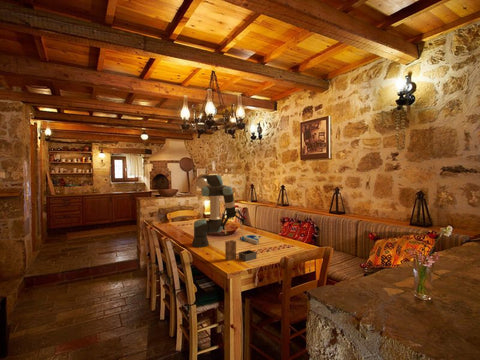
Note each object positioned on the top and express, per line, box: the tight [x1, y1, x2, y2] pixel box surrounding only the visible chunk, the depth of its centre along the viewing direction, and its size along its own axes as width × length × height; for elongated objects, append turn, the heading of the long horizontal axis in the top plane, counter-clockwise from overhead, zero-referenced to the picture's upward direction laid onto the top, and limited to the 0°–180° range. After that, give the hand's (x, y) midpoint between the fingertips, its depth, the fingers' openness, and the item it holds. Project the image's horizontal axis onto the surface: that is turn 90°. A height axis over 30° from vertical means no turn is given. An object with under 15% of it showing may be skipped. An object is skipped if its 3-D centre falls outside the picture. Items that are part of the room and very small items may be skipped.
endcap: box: [238, 249, 258, 262], centre depth 204 cm, size 11×8×5 cm
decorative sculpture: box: [237, 234, 263, 245], centre depth 260 cm, size 27×4×30 cm
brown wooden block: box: [224, 239, 237, 262], centre depth 203 cm, size 7×4×14 cm, turn 128°
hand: (233, 231), depth 208 cm, fingers open, 13 cm apart
